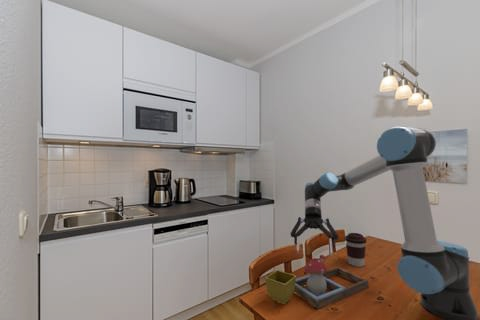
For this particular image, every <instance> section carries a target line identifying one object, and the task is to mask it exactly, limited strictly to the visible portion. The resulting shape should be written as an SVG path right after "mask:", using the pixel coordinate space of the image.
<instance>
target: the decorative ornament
mask: <svg viewBox="0 0 480 320" xmlns="http://www.w3.org/2000/svg"><path fill="white" fill-rule="evenodd" d="M325 260H326V257H325V255H323V254H320V255H319V257H318V258H316V257H313V258H311V259H310V260H309V261H308V262H307V263H306V265H305V266H304V268H303V269H304V272H305V273H306V274H309V275H310V276H309V277H308V280H307V286H305V289H306V290H307V291H309V292H310V293H312V294H313V295H315V296H317V297H318V296H320V295H323V294H326V293H327V284H326V281H325V279H324V277H323V273H325V272H327V271H328V270H329V269H328V266H327V265H326V263H325V262H324V261H325Z"/></svg>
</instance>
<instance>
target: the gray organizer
mask: <svg viewBox="0 0 480 320" xmlns="http://www.w3.org/2000/svg"><path fill="white" fill-rule="evenodd" d="M338 274H339V275H338ZM335 275H336V276H340V275H341V276H340V277H342V276H343V277H342V278H344V277H345V278H344V279H346V278H347V279H346V280H348V279H349V280H348V281H350V280H351V281H350V282H352V281H353V282H352V283H354V282H355V283H354V284H351V285H349V286H346V287H345V288H346V290H344V291H341V292H339V293H336V294H334V295H331V296H329V297H326V298H324V299H321V300H319V301H316V300H315V299H313V298H312V297H310V296H309V295H307V294H306V293H304V292H303V291H301V290H300V289H298V288H297V287H295V290H294V292H296V293H297V294H298V295H300V296H301V297H302V298H304V299H305V300H306V301H307V302H306V301H305V300H304V301H305V302H306V303H308V302H309V303H310V304H309V303H308V304H309V305H311V304H312V305H313V306H314V308H315V307H316V308H319V309H321V308H320V307H322V308H324V307H326V306H328V304H329V305H331V304H333V302H334V303H336V302H339V301H341V300H343V299H345V298H347V297H350V296H352V294H353V295H354V294H357V293H359V292H363V291H365V290H367V289H369V280H368V279H366V278H363V277H361V276H359V275H357V274H354V273H352V272H350V271H348V270H345V269H343V268H341V267H338V266H337V267H334V268H331V269H328V271H327V272H325V273H323V276H324V277H326V278H328V279H330V278H329V277H331V278H333V276H334V277H336V276H335ZM307 280H308V279H305V280H302V281H299V282H296V284H298V285H299V286H304V285H307ZM326 284H327V288H328V289H327V288H326V289H327V290H329V291H330V290H331V291H333V290H336V289H339V288H338V287H336V286H334V285H333V284H331V283H329V282H327V281H326ZM366 288H367V289H366ZM331 291H330V292H331ZM298 295H297V296H298ZM301 297H300V298H301ZM302 298H301V299H302ZM340 299H341V300H340ZM330 303H331V304H330ZM312 305H311V306H312ZM325 305H326V306H325ZM313 306H312V307H313ZM323 306H324V307H323ZM316 308H315V309H316Z"/></svg>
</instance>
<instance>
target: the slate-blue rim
mask: <svg viewBox="0 0 480 320" xmlns="http://www.w3.org/2000/svg"><path fill="white" fill-rule="evenodd" d="M309 276H310V274H307V275H304V276H300V277H298V278H296V282H299V281H302V280H305V279H308V277H309ZM323 277H324V276H323ZM324 279H325V281H327V282H329V283H331V284H333V285H334V286H336V287H338V288H339V289H336V290H333V291H329V292H326V293H325V294H323V295H320V296H318V297H317V296H315V295H313V294H312V293H310V292H309V291H307V289H306V288H304V287H301V286H299V285H298V284H296V282H295V287H297V288H298V289H300V290H301V291H303V292H304V293H306V294H307V295H309V296H310V297H312V298H313V299H315V300H316V301H319V300H321V299H324V298H326V297H329V296H331V295H334V294H336V293H339V292H341V291H344V290H346V287H344V286H343V285H340V284H339V283H337V282H334V281H333V280H331V279H330V278H328V279H327V278H326V277H324Z"/></svg>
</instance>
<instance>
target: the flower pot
mask: <svg viewBox="0 0 480 320" xmlns="http://www.w3.org/2000/svg"><path fill="white" fill-rule="evenodd" d="M296 279H297V276H296V275H295V274H293V273H292V274H291V273H288V272H285V271H281V270H279V269H276V270H274V271H273V272H271V273H270V274H269V275H267V276H266V277H265V282H266V283H265V284H266V289H267V294H268V295H269V297H270V299H271V300H272V301H273V300H274V301H273V302H275V301H277V302H276V303H278V302H279V303H278V304H280V303H281V304H280V305H282V304H283V305H284V304H285V305H286V304H287V303H288V302H289V301H290V300H291V298H292V297H293V295H294V294H295V293H294V290H295V282H296ZM286 302H287V303H286ZM285 305H284V306H285Z"/></svg>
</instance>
